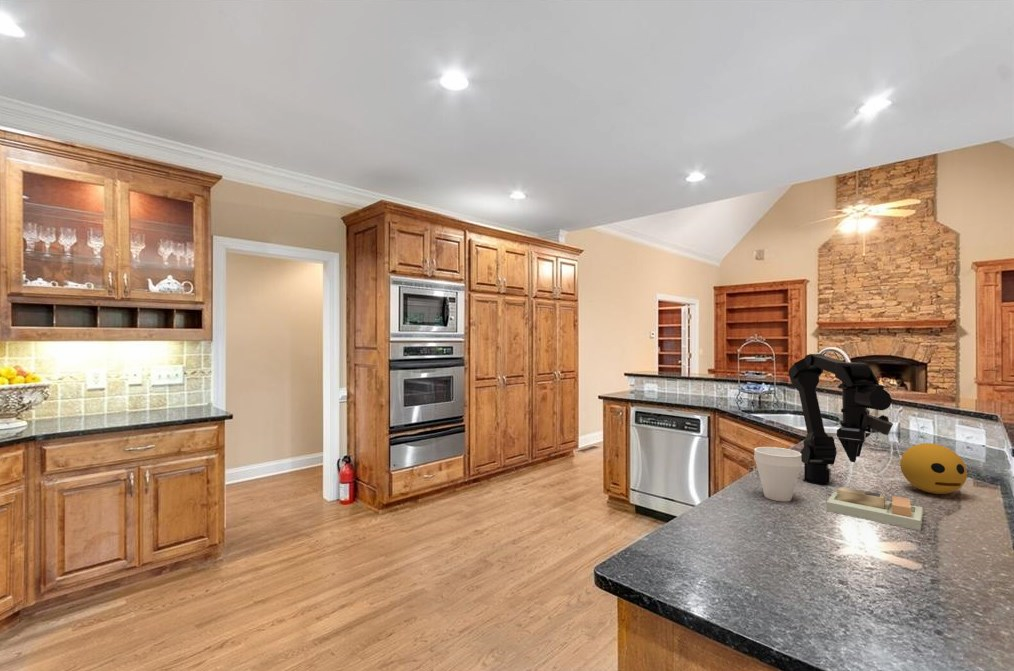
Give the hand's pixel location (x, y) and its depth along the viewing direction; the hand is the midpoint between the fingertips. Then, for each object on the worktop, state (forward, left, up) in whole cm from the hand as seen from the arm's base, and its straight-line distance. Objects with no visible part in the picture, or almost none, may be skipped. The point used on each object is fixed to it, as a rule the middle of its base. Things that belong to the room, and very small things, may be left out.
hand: (855, 459), depth 133 cm
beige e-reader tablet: (+2, -9, -11) cm, 15 cm away
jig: (+5, -9, -12) cm, 16 cm away
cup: (-17, -13, -12) cm, 25 cm away
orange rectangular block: (+11, -9, -11) cm, 18 cm away
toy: (+16, +26, -12) cm, 33 cm away
